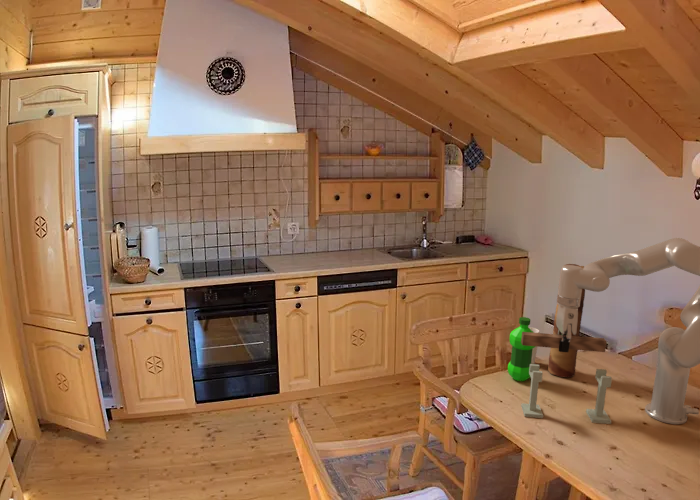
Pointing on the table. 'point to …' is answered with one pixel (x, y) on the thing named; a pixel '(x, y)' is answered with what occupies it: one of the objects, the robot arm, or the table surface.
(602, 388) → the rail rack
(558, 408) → the table surface
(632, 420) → the table surface
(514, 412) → the table surface
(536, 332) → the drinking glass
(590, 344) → the walnut rail
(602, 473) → the table surface
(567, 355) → the wafer roll
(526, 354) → the plastic bottle
